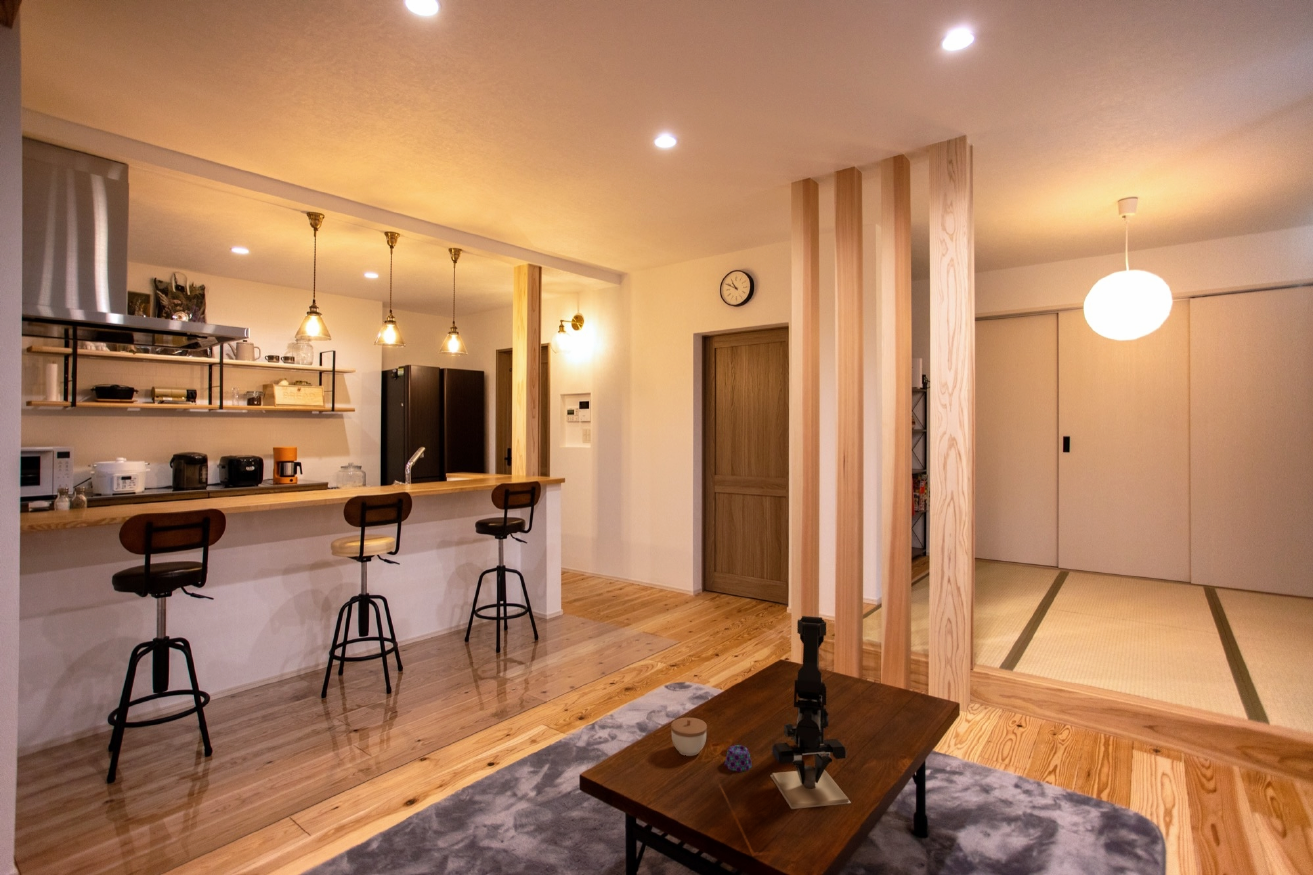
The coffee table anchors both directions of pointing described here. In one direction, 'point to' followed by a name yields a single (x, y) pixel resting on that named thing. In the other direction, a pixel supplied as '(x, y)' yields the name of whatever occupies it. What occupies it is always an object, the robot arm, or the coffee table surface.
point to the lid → (809, 788)
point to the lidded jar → (688, 735)
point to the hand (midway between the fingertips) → (809, 782)
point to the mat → (803, 806)
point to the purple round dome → (738, 758)
